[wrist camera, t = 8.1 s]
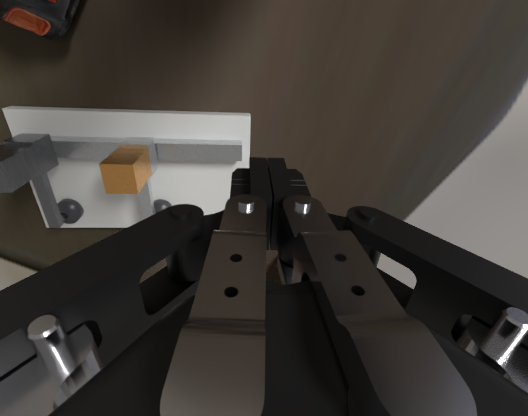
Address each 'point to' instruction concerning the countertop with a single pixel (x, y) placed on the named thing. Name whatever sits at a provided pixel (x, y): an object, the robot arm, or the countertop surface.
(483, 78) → the countertop surface
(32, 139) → the rail and fixed leg
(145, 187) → the block
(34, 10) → the battery
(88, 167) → the hole plate
